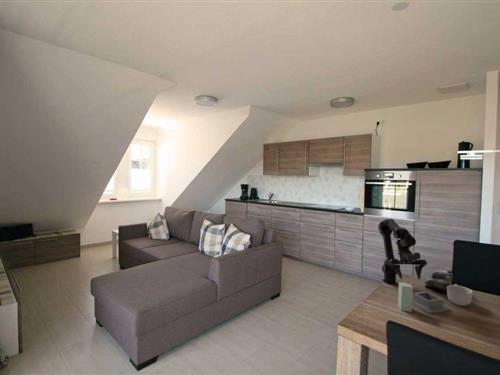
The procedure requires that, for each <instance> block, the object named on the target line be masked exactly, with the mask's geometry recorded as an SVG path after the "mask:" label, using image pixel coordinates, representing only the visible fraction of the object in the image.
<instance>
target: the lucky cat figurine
mask: <svg viewBox="0 0 500 375" xmlns="http://www.w3.org/2000/svg"><path fill="white" fill-rule="evenodd" d="M452 272H453V271H452V270H448V271H447V270H446V269H438V270H434V271H433V272H432V275H431V276H430V277H429V278H428V279H426V280H425V282H424V284H422V285H423V286H424V287H429V288H434V289H438V290H440V291H445V292H447V286H449V285H451V282H452V279H453V274H452Z"/></svg>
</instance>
